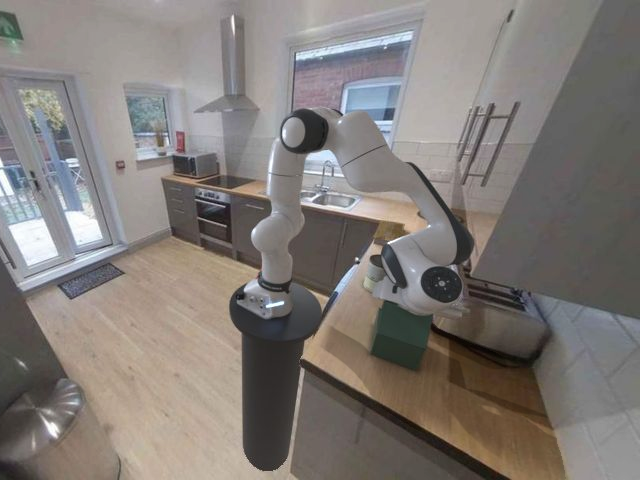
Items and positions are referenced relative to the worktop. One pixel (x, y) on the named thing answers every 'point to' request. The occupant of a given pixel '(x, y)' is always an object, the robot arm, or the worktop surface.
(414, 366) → the chest
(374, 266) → the coffee can
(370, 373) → the worktop surface
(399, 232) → the small cardboard box
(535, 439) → the worktop surface
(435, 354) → the worktop surface
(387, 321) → the green flat square panel
